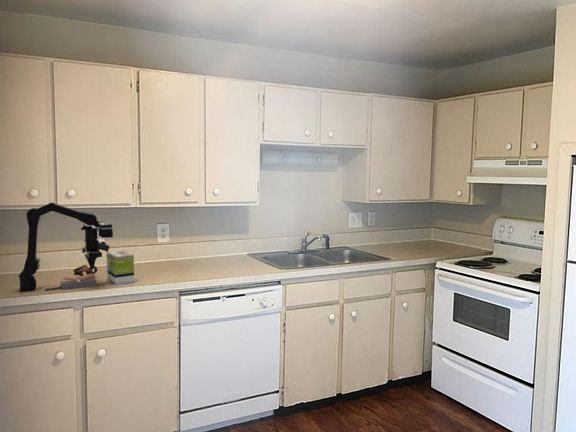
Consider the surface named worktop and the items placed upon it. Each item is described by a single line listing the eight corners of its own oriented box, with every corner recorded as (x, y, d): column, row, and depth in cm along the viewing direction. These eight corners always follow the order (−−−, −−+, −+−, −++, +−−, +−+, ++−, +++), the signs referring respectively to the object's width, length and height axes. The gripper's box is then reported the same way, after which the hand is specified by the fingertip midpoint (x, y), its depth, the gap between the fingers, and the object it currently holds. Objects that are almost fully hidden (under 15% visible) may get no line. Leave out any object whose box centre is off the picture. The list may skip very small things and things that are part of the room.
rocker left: (63, 279, 230) (63, 277, 230) (62, 278, 232) (62, 276, 232) (76, 280, 233) (76, 278, 233) (75, 279, 236) (75, 277, 236)
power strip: (45, 291, 225) (45, 285, 224) (44, 289, 230) (44, 282, 229) (96, 285, 237) (96, 279, 237) (94, 283, 242) (94, 277, 242)
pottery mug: (80, 282, 246) (73, 268, 247) (76, 286, 253) (70, 273, 254) (102, 273, 254) (95, 259, 255) (98, 277, 261) (91, 264, 262)
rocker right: (81, 280, 234) (80, 278, 234) (80, 278, 237) (79, 276, 237) (93, 276, 238) (93, 274, 237) (92, 275, 240) (91, 273, 240)
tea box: (106, 279, 251) (105, 252, 250) (125, 276, 258) (124, 250, 256) (115, 284, 240) (114, 256, 238) (135, 282, 246) (134, 254, 244)
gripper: (112, 239, 233) (113, 270, 235) (103, 235, 249) (104, 264, 250) (88, 241, 227) (89, 272, 229) (81, 236, 243) (82, 266, 244)
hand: (92, 268), depth 238 cm, fingers closed
